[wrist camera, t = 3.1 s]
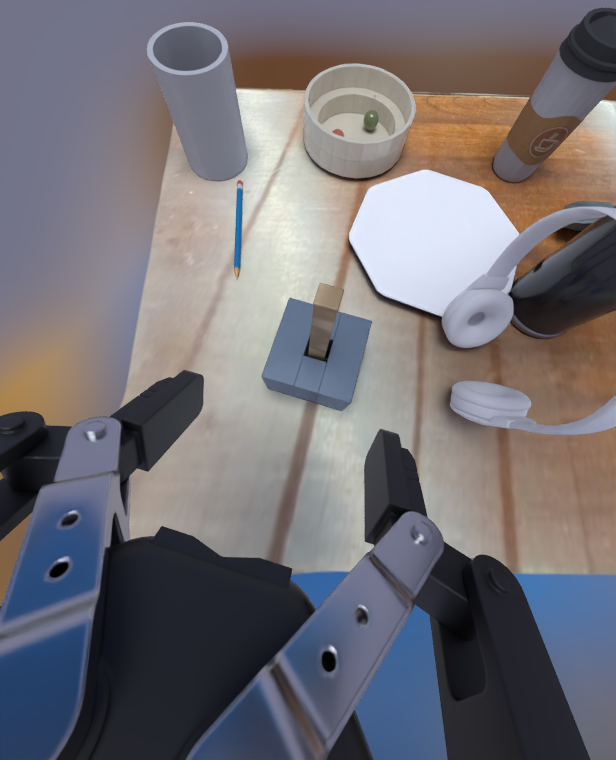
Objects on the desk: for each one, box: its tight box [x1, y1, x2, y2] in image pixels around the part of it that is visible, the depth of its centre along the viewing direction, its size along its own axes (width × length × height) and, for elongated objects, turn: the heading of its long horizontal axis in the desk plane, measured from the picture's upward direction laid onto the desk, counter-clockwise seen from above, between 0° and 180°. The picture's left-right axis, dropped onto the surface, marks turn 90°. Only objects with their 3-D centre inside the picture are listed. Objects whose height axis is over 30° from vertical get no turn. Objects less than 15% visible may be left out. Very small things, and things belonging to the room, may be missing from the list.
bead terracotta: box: [332, 129, 344, 137], centre depth 41 cm, size 2×2×2 cm
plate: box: [349, 170, 520, 318], centre depth 38 cm, size 24×24×2 cm
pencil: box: [234, 180, 243, 279], centre depth 39 cm, size 1×17×1 cm, turn 1°
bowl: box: [304, 64, 416, 178], centre depth 41 cm, size 16×16×6 cm
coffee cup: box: [493, 8, 616, 182], centre depth 36 cm, size 8×8×15 cm
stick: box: [308, 283, 344, 361], centre depth 26 cm, size 2×2×16 cm
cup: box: [147, 22, 248, 181], centre depth 36 cm, size 9×9×12 cm
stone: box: [563, 201, 614, 231], centre depth 39 cm, size 11×4×10 cm
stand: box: [262, 298, 372, 411], centre depth 31 cm, size 10×10×6 cm
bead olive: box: [363, 110, 379, 131], centre depth 43 cm, size 2×2×2 cm
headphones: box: [442, 206, 616, 435], centre depth 25 cm, size 7×18×20 cm, turn 178°
